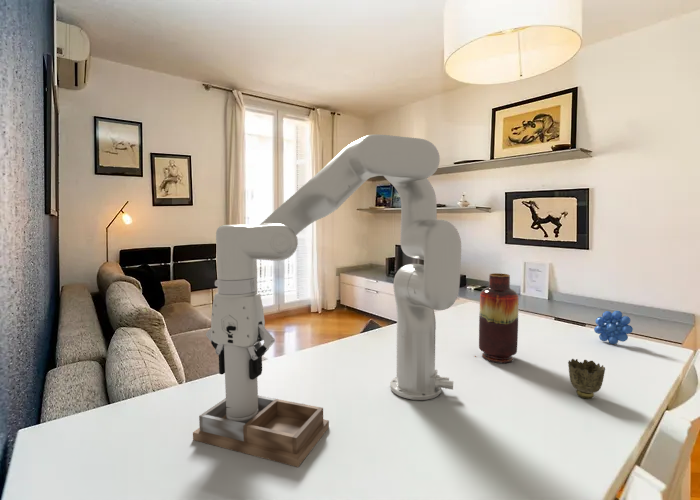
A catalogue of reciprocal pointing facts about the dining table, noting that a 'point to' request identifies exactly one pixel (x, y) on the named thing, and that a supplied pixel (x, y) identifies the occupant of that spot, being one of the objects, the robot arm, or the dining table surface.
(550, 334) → the dining table surface
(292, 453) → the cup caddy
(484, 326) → the vase
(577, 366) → the cup
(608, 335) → the grapes
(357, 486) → the dining table surface
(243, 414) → the travel mug
